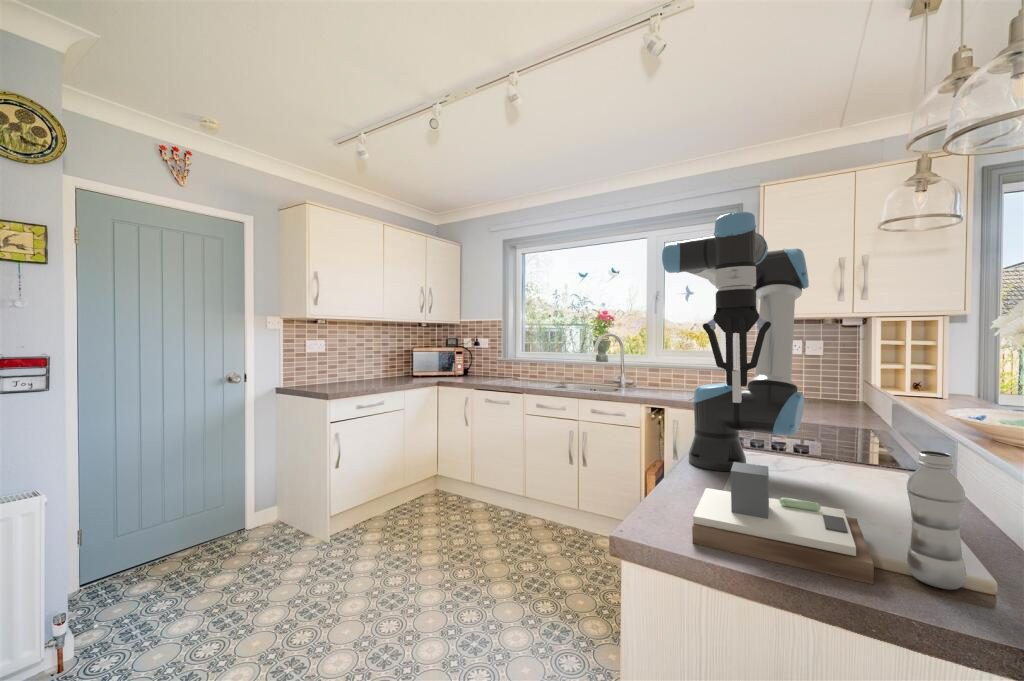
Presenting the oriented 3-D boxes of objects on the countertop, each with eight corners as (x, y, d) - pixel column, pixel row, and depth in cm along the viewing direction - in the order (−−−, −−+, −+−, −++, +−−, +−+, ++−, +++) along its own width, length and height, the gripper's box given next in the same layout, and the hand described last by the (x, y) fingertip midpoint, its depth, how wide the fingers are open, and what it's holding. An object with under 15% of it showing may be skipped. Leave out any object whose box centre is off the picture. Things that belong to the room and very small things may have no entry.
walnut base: (706, 507, 95) (706, 493, 95) (856, 534, 81) (856, 518, 81) (692, 543, 79) (692, 526, 79) (873, 584, 66) (873, 563, 65)
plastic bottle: (977, 590, 63) (977, 457, 63) (948, 600, 61) (948, 462, 61) (924, 567, 70) (923, 446, 69) (896, 576, 68) (895, 450, 67)
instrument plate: (706, 494, 94) (705, 451, 94) (843, 517, 81) (843, 467, 81) (693, 523, 80) (692, 473, 80) (856, 556, 67) (855, 497, 67)
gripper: (698, 290, 89) (700, 402, 90) (771, 285, 82) (773, 406, 83) (704, 292, 96) (705, 396, 96) (772, 288, 89) (773, 400, 90)
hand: (737, 401), depth 90 cm, fingers closed
